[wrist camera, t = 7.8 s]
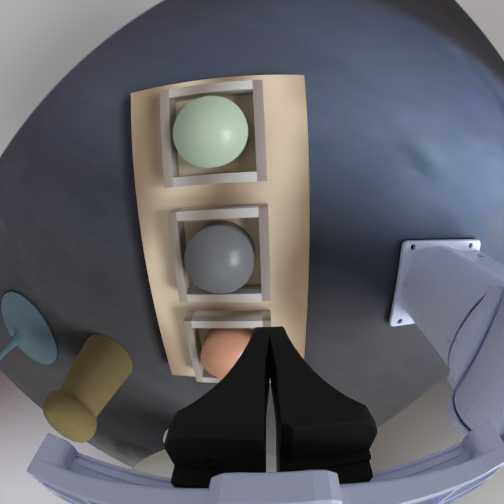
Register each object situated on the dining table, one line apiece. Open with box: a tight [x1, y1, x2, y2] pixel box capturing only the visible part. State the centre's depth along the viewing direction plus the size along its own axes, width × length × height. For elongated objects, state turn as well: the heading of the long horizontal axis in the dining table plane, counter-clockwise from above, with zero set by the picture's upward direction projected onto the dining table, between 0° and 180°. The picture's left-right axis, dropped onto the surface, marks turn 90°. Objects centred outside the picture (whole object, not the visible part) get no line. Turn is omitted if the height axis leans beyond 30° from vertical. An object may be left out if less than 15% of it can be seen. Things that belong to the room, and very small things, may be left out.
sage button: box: [173, 96, 249, 168], centre depth 16 cm, size 4×4×2 cm
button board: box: [131, 75, 310, 383], centre depth 19 cm, size 12×24×3 cm, turn 3°
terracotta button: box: [200, 328, 253, 379], centre depth 21 cm, size 4×4×2 cm
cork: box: [43, 334, 133, 443], centre depth 20 cm, size 6×6×11 cm
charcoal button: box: [184, 221, 255, 294], centre depth 18 cm, size 4×4×2 cm
